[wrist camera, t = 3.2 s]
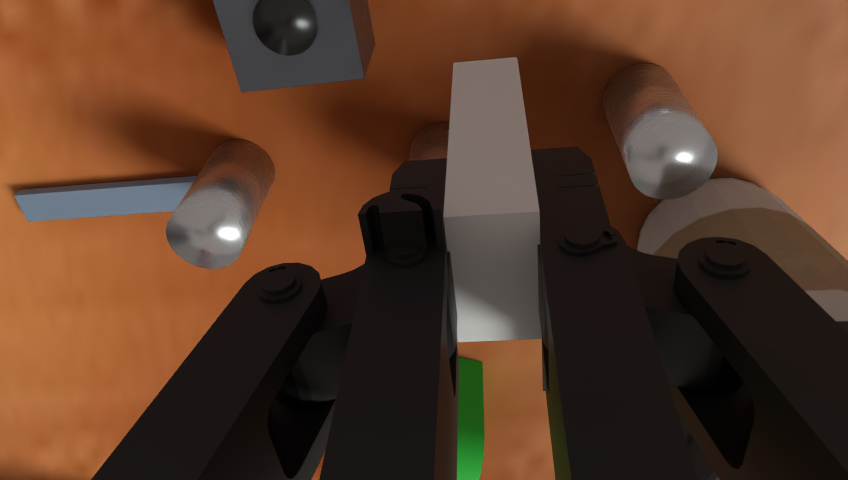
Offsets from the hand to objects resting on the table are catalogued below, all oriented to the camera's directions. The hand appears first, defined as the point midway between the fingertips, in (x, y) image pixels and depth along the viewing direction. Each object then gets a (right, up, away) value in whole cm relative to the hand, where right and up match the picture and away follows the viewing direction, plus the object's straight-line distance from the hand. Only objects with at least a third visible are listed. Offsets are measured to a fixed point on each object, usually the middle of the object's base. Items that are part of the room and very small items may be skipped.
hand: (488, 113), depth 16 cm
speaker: (-7, +7, +12) cm, 15 cm away
